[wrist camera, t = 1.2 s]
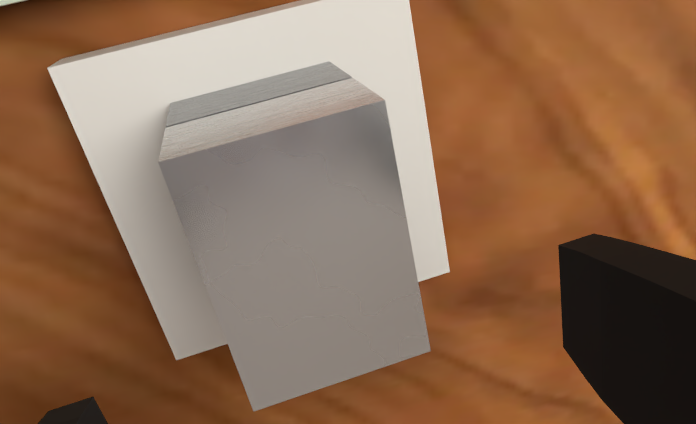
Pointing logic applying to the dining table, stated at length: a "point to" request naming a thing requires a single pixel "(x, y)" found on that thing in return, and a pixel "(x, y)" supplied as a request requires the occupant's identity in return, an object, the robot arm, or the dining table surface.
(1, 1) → the stand
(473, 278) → the dining table surface
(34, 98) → the dining table surface
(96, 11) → the dining table surface
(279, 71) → the stand
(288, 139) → the block
